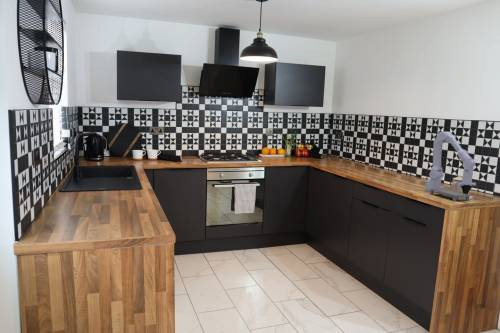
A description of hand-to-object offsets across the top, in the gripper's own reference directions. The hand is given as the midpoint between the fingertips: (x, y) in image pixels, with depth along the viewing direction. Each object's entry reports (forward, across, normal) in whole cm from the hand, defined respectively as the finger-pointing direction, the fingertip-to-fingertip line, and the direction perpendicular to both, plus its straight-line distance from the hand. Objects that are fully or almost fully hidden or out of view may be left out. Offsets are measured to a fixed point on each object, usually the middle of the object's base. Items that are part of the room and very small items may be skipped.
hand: (465, 195), depth 269 cm
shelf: (+1, -14, 0) cm, 14 cm away
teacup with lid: (+1, +12, +19) cm, 22 cm away
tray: (+1, -7, 0) cm, 7 cm away
